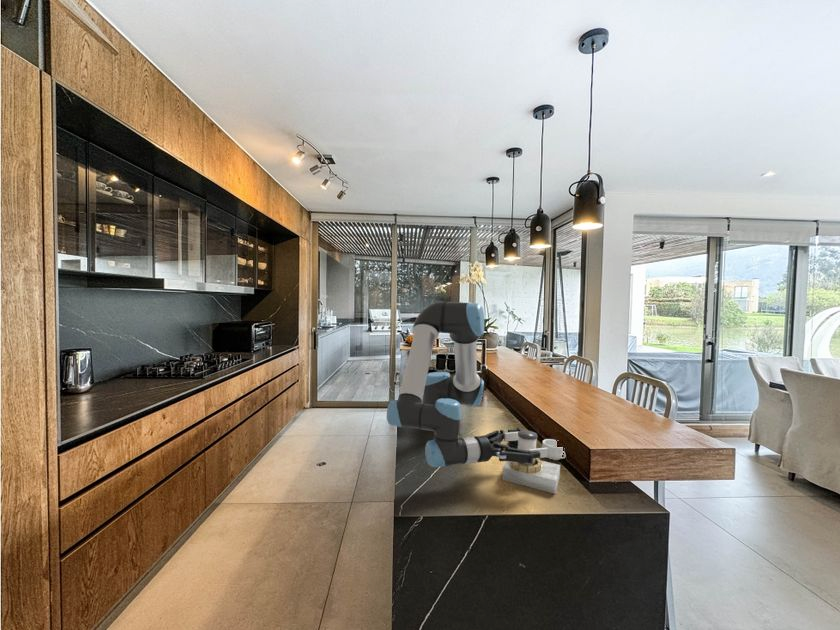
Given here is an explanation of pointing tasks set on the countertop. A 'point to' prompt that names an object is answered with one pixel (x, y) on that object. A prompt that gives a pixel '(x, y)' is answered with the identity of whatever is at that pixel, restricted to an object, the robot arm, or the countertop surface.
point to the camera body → (533, 475)
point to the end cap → (514, 443)
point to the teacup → (553, 449)
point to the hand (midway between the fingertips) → (533, 443)
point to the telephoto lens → (527, 442)
